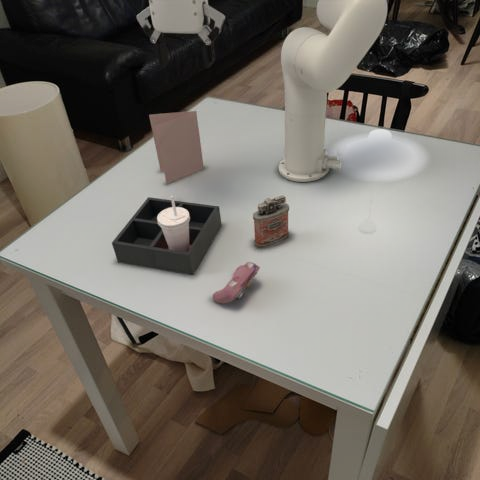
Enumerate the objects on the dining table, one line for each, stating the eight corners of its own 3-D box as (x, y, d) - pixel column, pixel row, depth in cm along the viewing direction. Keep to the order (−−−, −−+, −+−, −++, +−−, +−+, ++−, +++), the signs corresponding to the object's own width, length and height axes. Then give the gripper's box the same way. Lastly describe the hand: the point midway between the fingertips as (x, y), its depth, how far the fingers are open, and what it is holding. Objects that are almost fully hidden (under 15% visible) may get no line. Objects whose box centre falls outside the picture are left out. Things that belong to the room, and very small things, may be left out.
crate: (221, 225, 108) (219, 206, 104) (193, 275, 97) (189, 255, 93) (152, 216, 112) (148, 197, 109) (117, 262, 101) (111, 242, 98)
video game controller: (228, 314, 91) (240, 296, 85) (209, 299, 91) (219, 280, 85) (254, 283, 96) (267, 264, 90) (237, 269, 96) (248, 249, 90)
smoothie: (191, 265, 98) (180, 206, 87) (161, 263, 99) (147, 204, 89) (199, 246, 102) (190, 187, 92) (170, 244, 103) (158, 186, 93)
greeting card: (204, 166, 126) (196, 109, 116) (203, 181, 121) (195, 123, 111) (160, 169, 127) (149, 113, 116) (158, 184, 122) (146, 126, 111)
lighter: (259, 250, 101) (257, 210, 93) (251, 242, 103) (249, 202, 96) (292, 238, 103) (292, 197, 96) (283, 230, 105) (283, 189, 98)
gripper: (226, -50, 82) (234, 59, 94) (135, -48, 86) (154, 56, 98) (211, -40, 77) (221, 73, 89) (116, -38, 81) (138, 69, 94)
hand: (186, 64), depth 94 cm, fingers open, 9 cm apart
